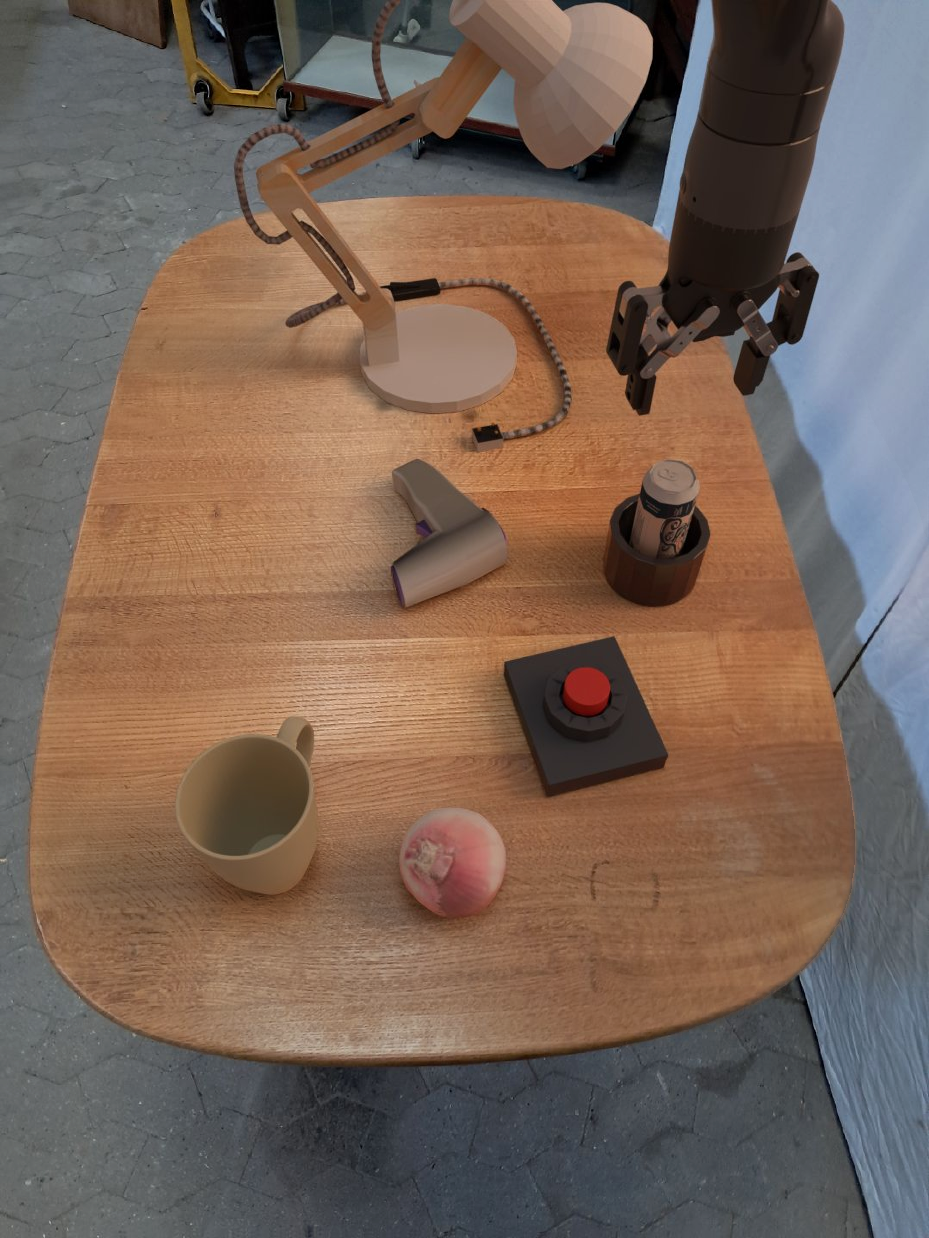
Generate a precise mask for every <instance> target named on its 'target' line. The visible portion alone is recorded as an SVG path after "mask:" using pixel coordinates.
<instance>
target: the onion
mask: <svg viewBox="0 0 929 1238" xmlns="http://www.w3.org/2000/svg"><path fill="white" fill-rule="evenodd" d="M398 865H399V871H400V876H401V879H402V881H403V884H404V886H405V888H406V889H407V890H408V891H409V893H410V894H411V895H412V896H413V897H414V899H416V900H417V901H418V903H420V904H421V905H423V907H425V908H426V909H428V910H429V911H431V912H432V913H434V914H436V915H437V916H439V917H442V918H448V919H461V918H462V919H463V918H466V917H467V918H468V917H471V916H474V915H476V914H477V913H480V912H481V911H483V910H484V909H485V908H487V907H488V906H489V905H490V904H492V902H493V900H494V898H495V897H496V896H497V894H498V893H499V890H500V888H501V886H502V884H503V881H504V879H505V875H506V870H507V852H506V847H505V843H504V841H503V839H502V836H501V834H500V833H499V832H498V831H497V829H496V828H495V826H494V825H492V823H491V822H490V821H489V820H488V819H486V818H485V817H484V816H483V815H482V814H481V813H479V812H477V811H474V810H471V809H468V808H465V807H456V806H450V807H449V806H446V807H445V806H444V807H439V808H435V809H432V810H429V811H427V812H426V813H424V814H423V815H421V816H419V817H418V818H417V819H416V820H415V821H414V822H413V823H412V824H411V826H410V827H409V828H408V830H407V831H406V833H405V835H404V836H403V838H402V841H401V844H400V846H399V851H398Z"/></svg>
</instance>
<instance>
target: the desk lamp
mask: <svg viewBox="0 0 929 1238" xmlns="http://www.w3.org/2000/svg"><path fill="white" fill-rule="evenodd" d="M401 1H402V0H386V2H385V3H384V5H383V7H382V9H381V11H380V13H379V15H378V17H377V19H376V22H375V25H374V29H373V34H372V38H371V62H372V63H371V64H372V70H373V76H374V79H375V83H376V87H377V89H378V92H379V95H380V97H381V101H382V102H383V103H382V104H380V105H378V106H377V107H374V108H372V109H370V110H368V111H366V112H365V113H363V114H361V115H358V116H357V117H355V118H352V119H351V120H348V121H346V122H345V123H343V124H341V125H339V126H337V127H335V128H333V129H331V130H329V131H326V132H325V133H323V134H321V135H319V136H317V137H315V138H313V139H312V140H309V141H307V139H306V138H305V136H304V135H303V133H302V132H301V131H300V130H299V129H298V128H296V127H294V126H291V125H290V124H288V123H279V124H268V125H266V126H265V127H263V128H261V129H259V130H257V131H256V132H253V133H252V134H250V136H249V137H248V138H247V139H246V140H245V141H244V142H243V143H242V144H241V145H240V146H239V148H238V149H237V153H236V156H235V159H234V162H233V173H234V181H235V186H236V192H237V195H238V196H237V197H238V201H239V204H240V205H239V206H240V209H241V212H242V214H243V217H244V219H245V222H246V224H247V225H248V226H249V228H250V229H251V231H252V232H253V234H254V235H255V236H256V237H257V238H258V239H260V240H261V241H263V242H264V243H265V244H267V245H281V244H283V243H285V242H287V241H289V240H291V239H292V238H293V239H294V240H295V242H296V243H297V244H298V245H299V247H300V248H301V249H302V250H303V252H304V253H305V254H306V255H307V256H308V257H309V259H310V260H311V261H312V263H313V264H314V265H315V266H316V267H317V269H318V270H319V271H320V272H321V274H322V275H323V276H324V277H325V278H326V280H327V281H328V282H329V283H330V285H331V286H332V287H333V288H334V289H335V290H336V293H335V294H333V295H332V296H331V297H329V298H328V299H326V300H324V301H321V302H317V303H314V304H312V305H308V306H307V307H304V308H302V309H300V310H298V311H296V312H294V313H292V314H291V315H289V317H288V318H287V319H286V320H285V323H284V324H285V326H286V327H287V328H289V329H291V328H297V327H299V326H301V325H303V324H305V323H307V322H308V321H310V320H312V319H314V318H315V317H317V316H319V315H321V314H322V313H323V312H325V311H327V310H329V309H331V307H336V306H340V305H345V304H346V305H348V307H349V308H350V309H351V311H352V312H353V313H354V315H356V316H357V317H358V319H359V320H360V321H361V322H362V328H363V337H364V338H363V341H362V342H361V344H360V347H359V363H360V364H359V365H360V373H361V376H362V378H363V380H364V381H365V383H366V384H367V386H368V388H369V390H371V391H372V392H373V393H374V394H376V395H377V396H378V397H379V398H381V400H383V401H384V402H386V403H389V404H391V405H393V406H396V407H399V408H401V409H403V410H406V411H411V412H419V413H424V414H425V413H426V414H448V413H458V412H463V411H466V410H469V409H473V408H476V407H480V406H482V405H484V404H485V403H487V402H489V401H490V400H492V399H494V398H495V397H497V396H499V395H501V393H502V392H503V391H504V390H505V388H507V386H508V385H509V384H510V383H511V382H512V381H513V379H514V375H515V371H516V368H517V366H518V350H517V346H516V340H515V337H514V336H513V334H512V333H511V331H510V330H509V328H507V326H506V325H505V324H504V323H502V322H501V321H500V320H498V319H496V318H495V317H493V316H492V315H490V314H489V313H486V312H485V311H481V310H478V309H475V308H472V307H470V306H465V305H457V304H450V303H434V304H433V303H432V304H420V305H417V306H413V307H408V308H405V309H401V310H397V311H396V302H397V301H405V300H410V299H416V298H417V299H418V298H422V297H423V298H424V297H429V296H435V295H440V294H441V289H442V290H443V289H448V288H455V287H463V286H464V287H465V286H472V285H474V286H475V285H476V286H478V285H479V286H492V287H495V288H499V289H501V290H505V291H507V292H508V293H509V294H511V295H512V296H514V297H515V298H516V299H518V300H519V301H520V303H521V304H522V305H523V306H524V307H525V309H527V311H528V313H529V314H530V316H531V317H532V320H533V321H534V323H535V324H536V326H537V328H538V330H539V332H540V335H541V336H542V339H543V340H544V342H545V344H546V346H547V348H548V350H549V353H550V354H551V357H552V359H553V361H554V363H555V366H556V368H557V370H558V372H559V377H560V378H561V382H562V384H563V393H564V401H563V404H562V406H561V410H560V411H559V412H558V413H557V414H555V416H554V417H552V418H551V419H549V420H547V421H545V422H542V423H539V424H537V425H533V426H529V427H525V428H520V429H515V430H508V431H503V432H501V429H500V426H499V425H498V423H495V422H491V424H490V425H484V426H477V427H473V428H471V437H472V438H471V439H472V441H473V443H474V446H475V449H476V452H477V453H481V452H487V451H493V450H498V449H503V448H504V441H505V440H509V439H515V438H519V437H524V436H530V435H534V434H537V433H540V432H542V431H545V430H548V429H551V428H553V427H555V426H556V425H558V423H560V422H561V421H562V420H563V419H564V418H565V417H566V416H567V415H568V413H569V411H570V407H571V403H572V386H571V382H570V380H569V376H568V372H567V370H566V367H565V365H564V363H563V361H562V358H561V356H560V354H559V352H558V350H557V348H556V346H555V344H554V342H553V340H552V337H551V335H550V334H549V331H548V330H547V328H546V326H545V324H544V322H543V320H542V318H541V317H540V315H539V313H538V312H537V310H536V308H535V307H534V305H533V304H532V303H531V302H530V301H529V299H527V297H526V296H525V295H524V294H523V293H522V292H521V291H519V290H518V289H516V288H515V287H514V286H512V285H510V284H509V283H506V282H503V281H501V280H497V279H493V278H483V277H481V278H478V277H470V278H462V279H453V280H446V281H438V278H437V277H432V278H426V279H420V280H413V281H412V280H411V281H390V282H389V284H386V285H379V283H378V282H377V281H376V280H375V278H374V277H373V276H372V274H371V273H370V271H368V269H367V268H366V266H365V265H364V264H363V262H362V261H361V260H360V258H359V257H358V256H357V255H356V253H355V252H354V250H353V249H352V248H351V247H350V245H349V244H348V243H347V242H346V240H345V239H344V238H343V236H342V235H341V233H340V232H339V231H338V229H336V226H334V225H333V223H332V222H331V220H330V219H329V218H328V217H327V215H326V214H325V213H324V211H323V209H321V208H320V206H319V205H318V203H317V202H316V200H315V199H314V198H313V196H312V195H311V193H313V192H314V191H316V190H318V189H321V188H323V187H324V186H327V185H328V184H330V183H332V182H335V181H336V180H339V179H340V178H343V177H344V176H346V175H349V174H351V173H353V172H354V171H357V170H359V169H361V168H362V167H365V166H367V165H368V164H371V163H373V162H374V161H377V160H379V159H381V158H383V157H385V156H386V155H389V154H390V153H393V152H394V151H397V150H399V149H400V148H403V147H405V146H407V145H408V144H410V143H412V142H415V141H416V140H417V141H418V140H419V139H421V138H423V137H424V136H426V135H429V134H431V133H432V132H433V133H435V134H436V135H437V136H438V137H440V138H442V139H445V140H446V139H449V138H451V137H453V136H454V135H455V133H456V132H457V131H458V129H459V128H460V126H462V124H463V122H464V121H465V120H466V118H467V117H468V115H469V114H470V113H471V111H472V110H473V109H474V107H475V106H476V105H477V103H478V102H479V101H480V99H481V98H482V96H483V95H484V94H485V93H486V91H487V90H488V88H489V87H490V86H491V84H492V83H493V82H494V81H495V79H496V78H497V76H498V75H499V73H500V72H501V71H502V70H503V71H504V73H506V74H508V75H509V76H510V77H511V78H512V79H513V80H514V84H513V85H514V86H513V97H512V98H513V100H512V101H513V111H514V115H515V119H516V123H517V127H518V130H519V133H520V136H521V139H522V140H523V142H524V144H525V146H526V147H527V148H528V151H530V153H531V154H532V155H533V156H534V158H536V159H537V160H538V161H539V162H540V163H542V164H543V166H545V167H546V169H557V170H563V169H565V168H568V167H571V166H574V165H578V164H579V163H581V162H582V161H584V160H585V159H587V158H588V157H590V156H591V155H592V154H594V153H596V151H599V149H600V148H601V147H602V146H603V145H605V143H606V142H607V141H608V140H609V139H610V138H611V137H612V136H613V135H614V134H615V133H616V132H617V131H618V129H619V128H620V127H621V126H622V124H623V122H624V121H625V120H626V118H627V117H628V115H629V114H630V113H631V111H632V110H633V109H634V106H635V105H636V104H637V100H638V98H639V97H640V94H641V93H642V90H643V88H645V86H646V85H645V84H646V82H647V80H648V76H649V72H650V69H651V68H650V67H651V65H652V61H653V52H654V51H653V49H654V45H653V43H654V38H653V36H652V34H651V31H650V29H649V27H648V25H647V24H646V23H645V22H644V21H643V20H642V19H641V18H640V17H639V16H637V15H635V14H633V13H631V12H630V11H628V10H626V9H624V8H622V7H620V6H618V5H615V4H612V3H609V2H590V3H582V4H577V5H573V6H571V7H569V8H566V9H564V10H562V9H561V7H560V6H558V5H557V4H556V3H555V2H554V1H553V0H452V1H451V5H450V7H449V14H448V15H449V16H448V18H449V22H450V24H451V25H452V26H453V27H454V28H456V29H457V30H458V31H459V32H460V33H461V34H462V35H463V36H465V37H466V38H465V40H463V43H462V44H461V45H460V47H459V49H458V50H457V51H456V53H455V54H454V55H453V57H452V58H451V60H450V61H449V63H448V64H447V65H446V67H445V68H444V70H443V71H442V73H441V74H440V76H437V77H433V78H432V79H429V80H426V81H425V82H423V83H420V82H418V81H417V80H416V79H413V84H414V86H415V87H414V88H412V89H410V90H408V91H406V92H403V93H402V94H400V95H398V96H396V97H394V98H393V99H392V97H391V95H390V92H389V89H388V87H387V83H386V80H385V77H384V73H383V69H382V59H381V51H382V50H381V49H382V39H383V35H384V31H385V28H386V24H387V22H388V21H389V18H390V16H391V14H392V12H393V11H394V10H395V9H396V7H397V6H398V5H399V3H400V2H401ZM410 114H414V116H413V118H411V119H409V120H407V121H405V122H403V123H401V121H400V120H401V119H402V118H404V117H406V116H408V115H410ZM400 123H401V124H400ZM381 129H382V130H381ZM379 130H380V131H379ZM377 131H379V132H377ZM376 132H377V133H376ZM373 133H375V134H373ZM278 134H287V135H288V136H291V137H292V138H294V139H295V141H296V143H297V144H298V146H297V147H295V148H293V149H291V150H290V151H288V152H285V153H284V154H282V155H280V156H277V157H276V158H274V159H271V160H270V161H268V162H266V163H264V164H262V165H260V166H259V167H256V172H255V177H256V180H257V182H256V183H257V184H256V186H257V190H258V194H259V197H260V199H261V200H262V201H263V203H264V204H265V205H266V206H267V207H268V209H269V210H270V212H271V213H272V214H273V215H274V216H275V217H276V219H278V221H279V222H280V223H281V225H282V226H283V227H284V228H285V229H286V230H285V231H284V232H282V233H280V234H279V235H277V236H274V235H273V236H272V235H269V234H267V233H266V232H265V231H263V230H262V229H261V228H260V226H259V224H258V223H257V221H256V220H255V217H254V215H253V213H252V210H251V208H250V204H249V200H248V196H247V191H246V184H245V180H244V170H243V169H244V168H243V164H244V162H245V159H246V156H247V154H248V153H249V152H250V151H251V150H252V149H253V148H254V147H255V145H256V144H258V143H259V142H260V141H262V140H263V141H264V139H266V138H268V137H270V136H272V135H278ZM371 134H373V135H371ZM369 135H371V136H369ZM367 136H369V137H368V138H365V137H367ZM363 138H365V139H364V140H362V141H360V142H358V143H356V144H353V143H354V142H357V141H359V140H361V139H363ZM351 144H353V145H351ZM349 145H351V146H349ZM347 146H349V147H347ZM345 147H347V148H345ZM343 148H344V149H343ZM341 149H342V150H341ZM339 150H340V151H339ZM337 151H338V152H337ZM335 152H336V153H335ZM307 166H310V168H311V169H310V170H308V171H306V172H303V173H302V174H301V173H298V171H299V170H301V169H303V168H305V167H307ZM297 209H298V210H302V211H303V212H304V214H305V215H306V216H307V218H308V219H309V220H310V221H311V222H312V224H313V225H314V227H315V228H314V227H313V225H311V224H309V223H308V222H305V221H303V220H299V219H298V218H297V216H296V215H295V214H294V211H296V210H297ZM318 231H319V232H318ZM313 237H314V238H313ZM315 240H316V241H315ZM317 242H318V243H319V244H318V243H317ZM319 245H320V246H321V247H322V248H323V249H322V248H321V247H320V246H319ZM324 250H325V252H326V253H327V254H328V255H329V257H330V258H331V259H332V260H333V262H334V263H335V264H334V263H333V262H332V260H331V259H330V258H329V257H328V255H327V254H326V253H325V252H324ZM336 266H337V267H338V268H339V269H338V268H337V267H336ZM339 270H340V271H341V272H340V271H339ZM352 275H353V276H354V278H355V279H356V280H357V281H358V283H359V284H360V285H361V287H362V288H363V289H364V291H363V292H362V293H361V294H358V293H357V292H356V286H355V281H354V278H353V276H352Z"/></svg>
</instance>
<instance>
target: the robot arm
mask: <svg viewBox="0 0 929 1238" xmlns="http://www.w3.org/2000/svg"><path fill="white" fill-rule="evenodd" d="M710 2H711V13H712V14H711V15H712V24H713V25H712V26H713V35H712V41H711V45H710V49H709V53H708V57H707V63H706V68H705V73H704V79H703V84H702V89H701V95H700V101H699V105H698V110H697V115H696V118H695V123H694V126H693V129H692V133H691V135H690V137H689V141H688V145H687V148H686V153H685V158H684V162H683V169H682V173H681V176H680V179H679V190H678V195H677V201H676V206H675V212H674V217H673V222H672V229H671V232H670V233H671V235H670V241H669V244H668V251H667V254H668V255H667V270H666V272H665V274H664V276H663V277H662V279H661V280H660V282H659V283H658V285H657V286H656V285H655V286H649V287H648V286H646V287H637V286H636V283H634V281H632V280H625V281H624V282H622V283H621V284H620V285H619V287H618V289H617V293H616V299H615V304H614V309H613V313H612V319H611V322H610V323H611V324H610V328H609V333H608V338H607V343H606V348H605V353H606V355H607V356H608V358H609V360H610V361H611V363H612V365H613V367H614V369H615V370H616V371H617V373H618V375H620V376H621V377H625V376H627V377H626V384H625V390H624V395H625V398H626V400H627V402H628V403H629V406H630V407H631V409H632V411H635V412H636V413H637V416H639V417H641V416H645V415H650V413H651V408H652V403H653V399H654V398H653V397H654V394H655V393H654V392H655V388H656V382H657V377H658V376H657V375H656V373H657V372H659V370H660V369H661V368H662V367H663V366H664V365H665V364H666V362H667V361H669V359H671V358H673V359H675V358H678V357H679V356H680V354H682V353H683V351H685V349H686V348H687V347H688V346H689V345H690V344H691V342H692V343H699V342H703V341H706V340H709V339H711V338H714V337H721V338H725V337H731V336H735V333H736V331H739V330H740V329H741V328H743V329H744V331H745V332H746V333H747V335H748V337H749V339H745V340H743V341H742V344H741V349H740V351H739V356H738V359H737V362H736V367H735V369H734V373H733V377H732V379H733V384H734V385H735V387H736V389H737V390H738V391H739V393H740V394H741V395H742V396H744V397H746V396H750V395H753V394H755V393H756V392H755V391H756V388H757V387H759V386H761V383H762V382H763V380H764V377H765V374H766V371H767V368H768V365H769V361H770V358H771V356H772V355H773V354H775V353H776V352H777V350H778V348H779V347H780V346H781V345H783V344H786V343H787V344H788V345H796V344H797V343H799V342H800V341H801V340H802V338H803V337H804V334H805V330H806V325H807V322H808V318H809V315H810V312H811V307H812V305H813V300H814V297H815V293H816V289H817V287H818V283H819V278H820V273H819V272H818V270H816V269H815V267H814V266H813V264H812V263H811V262H810V261H809V260H808V259H807V258H806V257H805V256H804V255H803V254H802V252H799V251H797V252H794V253H792V254H790V255H789V256H788V258H787V255H788V253H789V248H790V245H791V242H792V239H793V236H794V231H795V228H796V225H797V222H798V219H799V215H800V211H801V208H802V204H803V202H804V198H805V195H806V191H807V188H808V184H809V181H810V178H811V175H812V171H813V167H814V163H815V157H816V151H817V143H818V138H819V134H820V129H821V124H822V122H823V118H824V114H825V111H826V107H827V104H828V102H829V98H830V94H831V92H832V89H833V84H834V81H835V77H836V74H837V70H838V67H839V63H840V60H841V55H842V52H843V51H842V50H843V47H844V37H845V28H846V27H845V26H846V25H845V21H844V17H843V13H842V12H841V10H840V9H839V6H838V5H837V4H836V3H835V2H834V1H833V0H710ZM786 258H787V259H786ZM777 290H778V295H777V299H776V303H775V306H774V311H773V316H772V320H771V321H768V322H767V323H766V321H765V319H764V317H763V316H762V314H761V313H760V311H759V310H760V309H761V308H762V306H764V305H765V303H767V301H768V300H770V298H771V297H772V296H773V295H774V294H775V293H776V291H777ZM658 307H659V308H658ZM657 308H658V309H657ZM656 309H657V310H656ZM655 310H656V311H655ZM654 311H655V312H654ZM653 312H654V314H653ZM652 314H653V315H652ZM671 322H672V323H673V325H674V326H675V327H676V330H677V331H675V333H674V334H673V335H671V333H670V332H669V330H668V327H669V325H670V324H671ZM645 325H646V326H645ZM644 327H645V331H644ZM643 331H644V333H643ZM652 350H653V351H652ZM651 351H652V352H651ZM650 352H651V353H650ZM649 353H650V354H649Z"/></svg>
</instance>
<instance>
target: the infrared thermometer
mask: <svg viewBox="0 0 929 1238" xmlns="http://www.w3.org/2000/svg"><path fill="white" fill-rule="evenodd" d="M391 478H392V486H393V490H394V491H395V492H396V493H398V494H399V495H400V496H402V497H403V499H404V500H405V501H406V503H407V504H408V506H409V508H410V510H411V512H412V514H413V516H414V518H415V520H416V521H417V524H415V533H416V535H418V536H420V537H422V538H423V539H422V540H420V541H419V542H418V543H417V544H416V545H414V546H413V547H411V548H410V549H409V550H407V551H406V552H405V553H403V554H402V555H401V556H399V557H398V558H397V559H395V560H394V561H393V562H392V565H390V572H391V577H392V582H393V586H394V589H395V593H396V596H397V599H398V602H399V604H400V606H401V607H402V608H405V609H406V608H408V607H411V606H414V605H416V604H419V603H422V602H424V601H426V600H430V599H432V598H434V597H437V596H439V595H443V594H445V593H447V592H450V591H453V590H456V589H458V588H461V587H463V586H467V585H469V584H470V583H472V582H474V581H476V580H478V579H479V578H482V577H483V576H485V575H487V574H489V573H491V572H493V571H495V570H497V569H499V568H500V567H502V566H504V565H505V564H506V563H507V562H508V559H509V546H508V540H507V535H506V534H505V531H504V529H503V528H502V526H501V524H500V523H499V522H498V520H497V519H496V518H495V516H494V515H493V514H492V513H491V512H490V511H489V510H488V509H486V508H485V507H480V506H478V504H476V503H475V502H474V501H473V499H471V498H470V497H469V496H467V495H466V494H465V493H463V492H462V491H461V490H459V489H458V488H457V487H456V486H455V484H453V483H452V481H450V480H449V479H448V478H447V477H446V476H445V475H444V473H442V472H441V471H440V470H439V469H437V468H436V467H435V466H433V465H431V464H430V463H429V462H426V461H425V460H423V459H420V458H416V459H413V460H411V461H409V462H406V463H404V464H402V465H400V466H398V467H396V468H393V470H391Z"/></svg>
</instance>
